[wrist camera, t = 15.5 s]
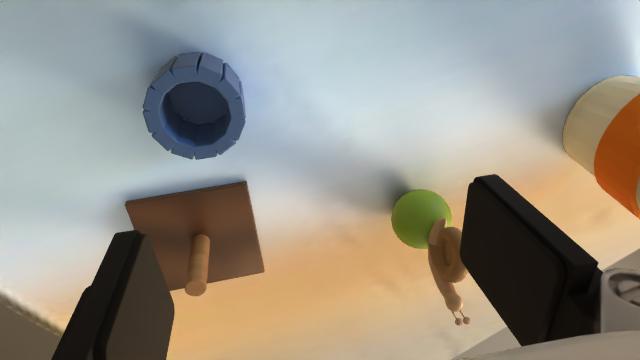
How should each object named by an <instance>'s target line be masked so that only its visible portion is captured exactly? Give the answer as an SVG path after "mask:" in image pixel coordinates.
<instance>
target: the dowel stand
mask: <svg viewBox="0 0 640 360" xmlns="http://www.w3.org/2000/svg"><path fill="white" fill-rule="evenodd" d="M125 206H126V209H127V211H128V214H129V217H130V219H131V222H132V224H133V227H134V229H135V230H139V231H140V232H141V233H142V234H148V236H149V238H150V240H151V243H152V246H153V248H154V251H155V254H156V257H157V259H158V262H159V265H160V267H161V270H162V273H163V275H164V278H165V281H166V284H167V286H168V289H169V291H172V290H177V289H182V288H185V291H186V293H187V294H189V295H191V296H199V295H202V294H203V293H204V292H205V291H206V287H207V283H212V282H217V281H222V280H227V279H233V278H238V277H243V276H248V275H253V274H258V273H263V272H264V265H263V260H262V255H261V250H260V245H259V240H258V236H257V231H256V226H255V221H254V216H253V211H252V206H251V201H250V196H249V191H248V186H247V182H246V181H244V182H238V183H232V184H226V185H220V186H214V187H208V188H202V189H196V190H190V191H184V192H178V193H172V194H167V195H161V196H155V197H149V198H143V199H137V200H131V201H126V203H125Z"/></svg>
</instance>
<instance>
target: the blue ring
mask: <svg viewBox="0 0 640 360" xmlns="http://www.w3.org/2000/svg"><path fill="white" fill-rule="evenodd" d="M194 81H198V82H201V83H203V84H206V85H208V86H211V87H214V88H215V89H216V90H217V91H218V92H219V93H220V94H221V95H222V96H223V98H224V99H225V100H226V101H227V103H228V109H227V111H226V114H224V115H223V116H222V117H220V118H219V119H218V120H217V121H215V122H213V123H207V124H200V125H199V124H196V123H193V122H190V121H187V120H184V119H183V118H182V117H181V116H180V115H179V114H178V113H177V112H176V111H175V110H174V109H173V108H172V104H171V101H170V97H169V94H168V92H169V90H171V89H172V88H173V87H174V86H176V85H177V84H179V83H187V82H194ZM143 109H144V111H143V115H144V118H145V121H146V124H147V127H148V131H149V133H152V132H153V134H152V137H153V138H154V139H155V140H156V141H157V142H158V143H160V144H161V145H162V146H163V147H164V148H165V149H166V150H167V151H169V150H170V149H172V150H171V153H172V154H176V155H179V156H182V157H186V158H189V159H193V157H194V155H195V159H196V160H198V159H204V158H211V157H216V156H217V153H218V154H219V155H221V154H222V153H224V152H225V151H226V150H228V149H229V148H230V147H232V146H233V145H234V144H235V143H236V140H239V137H240V135H241V132H242V130H243V127H244V124H245V118H246V116H245V105H244V97H243V91H242V86H241V82H240V81H239V77H238V76H237V75H236V74H235V72H234V71H233V70H232V69H231V68H230V66H229V65H228V64H227V63H224V64H223V60H221V59H219V58H216V57H214V56H211V55H209V54H206V53H203V55H202V57H201V53H200V52H195V53H187V54H180V55H179V56H178V57H177V56H175V57H174V58H173V59H172V60H170V61H169V62H168V63H167V64H166V65H164V66H163V67H162V68H161V69H160V71H159V72H158V74H157V75H156V77H155V78H154V80H153V81H152V83H151V84H150V86H149V87H148V90H147V93H146V97H145V100H144V104H143Z"/></svg>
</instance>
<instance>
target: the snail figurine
mask: <svg viewBox="0 0 640 360" xmlns="http://www.w3.org/2000/svg"><path fill="white" fill-rule="evenodd" d="M391 221H392V227H393V229H394V232H395V234H396V235H397V237H398V238H399V239H400V240H401V241H402V242H404V243H405V244H406V245H408V246H411V247H413V248H418V249H427V248H428V260H429V265H430V268H431V271H432V274H433V277H434V279H435V282H436V284H437V286H438V288H439V290H440V292H441V294H442V295H443V297H444V299H445V302H446V306H447V307H448V309H449V310H451V311H452V313H453V315H454V316H455V314H454V312H458V311H460V313H461V314H462V312H461V308H462V306H463V302H462V299H461V297H460V296H459V295H458V294H457V293H456V291H455V289H454V286H453V284H452V283H456V282H459V281H461V280H463V279H464V278H465V277H466V275H467V273H468V270H467V269H466V268H465V266H464V265H463V263H462V261H461V259H460V253H459V252H460V244H461V237H462V232H461V231H460V230H459V229H457V228H455V227H451V226H452V214H451V210H450V208H449V206H448V204H447V203H446V201H445V200H444V199H443V198H442V197H441V196H439V195H438V194H436V193H434V192H432V191H428V190H414V191H411V192H408V193H406V194H405V195H403V196H402V197H401V198H400V199H399V200H398V201H397V202H396V204H395V206H394V208H393V211H392V216H391ZM462 316H463V314H462ZM463 317H464V316H463ZM455 318H456V316H455ZM463 322H464V323H465V324H470V319H469V318H468V317H464V319H463V321H462V320H461V319H460V318H456V320H455V323H456V324H457V325H462V323H463Z"/></svg>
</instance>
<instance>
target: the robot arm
mask: <svg viewBox="0 0 640 360" xmlns="http://www.w3.org/2000/svg"><path fill="white" fill-rule="evenodd" d="M459 253H460V259H461V261H462V263H463V265H464V266H465V268H466V269H467V270H468V272H469V273H470V275H471V276H472V277H473V279H474V280H475V282H476V283H477V284H478V286H479V287H480V289H481V290H482V291H483V293H484V294H485V296H486V297H487V298H488V300H489V301H490V303H491V304H492V305H493V307H494V308H495V310H496V311H497V312H498V314H499V315H500V317H501V318H502V319H503V321H504V322H505V324H506V325H507V326H508V328H509V329H510V331H511V332H512V333H513V335H514V336H515V338H516V339H517V340H518V342H519V343H520V345H521V346H522V347H518V348H513V349H508V350H503V351H497V352H493V353H488V354H483V355H478V356H473V357H468V358H463V359H458V360H640V271H637V270H634V269H628V268H613V269H609V270H607V271H605V272H604V273H603V272H602V271H601V270H600V269H599V268H598V267H597V265H598V262H597V261H596V260H595V259H594V258H593V257H592V256H590V255H589V254H588V253H587V252H586V251H585V250H584V249H582V248H581V247H580V246H579V245H578V244H577V243H575V242H574V241H573V240H572V239H571V238H570V237H569V236H567V235H566V234H565V233H564V232H563V231H562V230H560V229H559V228H558V227H557V226H556V225H555V224H553V223H552V222H551V221H550V220H549V219H548V218H547V217H545V216H544V215H543V214H542V213H541V212H540V211H538V210H537V209H536V208H535V207H534V206H533V205H532V204H530V203H529V202H528V201H527V200H526V199H525V198H523V197H522V196H521V195H520V194H519V193H518V192H517V191H515V190H514V189H513V188H512V187H511V186H510V185H508V184H507V183H506V182H505V181H504V180H503V179H501V178H500V177H499V176H498V175H496V174H493V175H486V176H480V177H476V178H475V179H474V181H473V182H472V183H470V184H469V187H468V193H467V200H466V208H465V215H464V222H463V229H462V237H461V244H460V252H459ZM173 319H174V303H173V300H172V297H171V294H170V292H169V289H168V286H167V284H166V281H165V278H164V275H163V273H162V270H161V267H160V265H159V262H158V259H157V257H156V254H155V251H154V248H153V246H152V243H151V240H150V238H149V236H148V234H142V233H141V232H140V231H139V230H132V231H126V232H120V233H116V234H115V235H114V237H113V239H112V241H111V243H110V245H109V247H108V250H107V252H106V254H105V256H104V258H103V261H102V263H101V265H100V267H99V269H98V272H97V274H96V276H95V278H94V280H93V283H92V285H91V286H89V287H87V288H86V289H85V290H84V292H83V293H82V296H81V298H80V300H79V302H78V304H77V306H76V308H75V310H74V313H73V315H72V317H71V319H70V321H69V323H68V325H67V327H66V329H65V332H64V334H63V336H62V338H61V340H60V342H59V344H58V347H57V349H56V351H55V353H54V355H53V357H52V360H166V357H167V351H168V346H169V341H170V335H171V330H172V325H173Z"/></svg>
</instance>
